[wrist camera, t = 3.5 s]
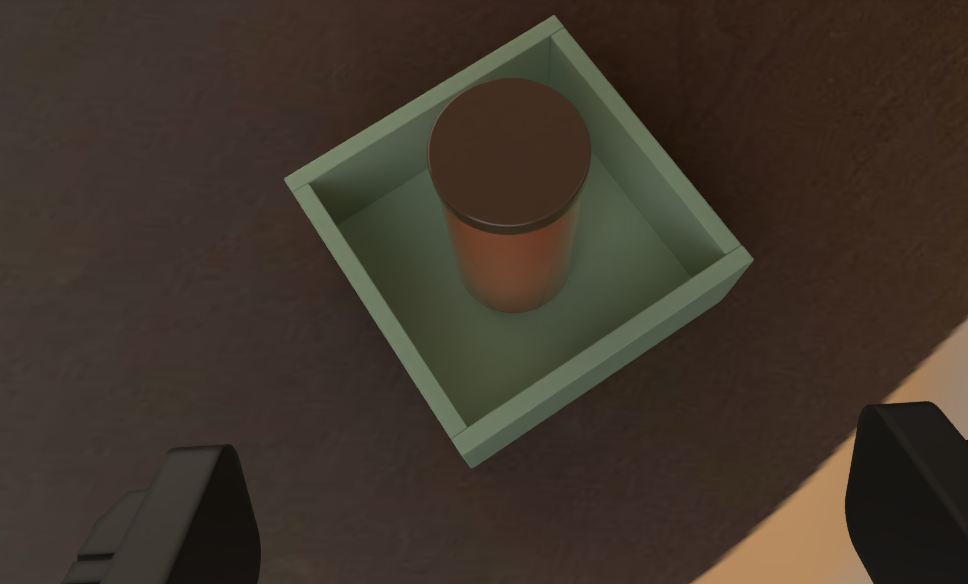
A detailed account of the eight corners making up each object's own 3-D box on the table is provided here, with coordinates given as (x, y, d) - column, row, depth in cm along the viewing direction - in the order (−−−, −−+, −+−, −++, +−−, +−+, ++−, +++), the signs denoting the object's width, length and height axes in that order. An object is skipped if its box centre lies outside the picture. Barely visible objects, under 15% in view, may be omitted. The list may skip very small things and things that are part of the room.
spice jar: (597, 273, 34) (625, 168, 25) (497, 339, 34) (485, 257, 24) (529, 181, 36) (530, 48, 26) (431, 243, 35) (395, 130, 26)
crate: (722, 299, 34) (754, 259, 30) (471, 469, 33) (461, 456, 28) (550, 82, 38) (554, 14, 33) (315, 227, 36) (283, 178, 31)
